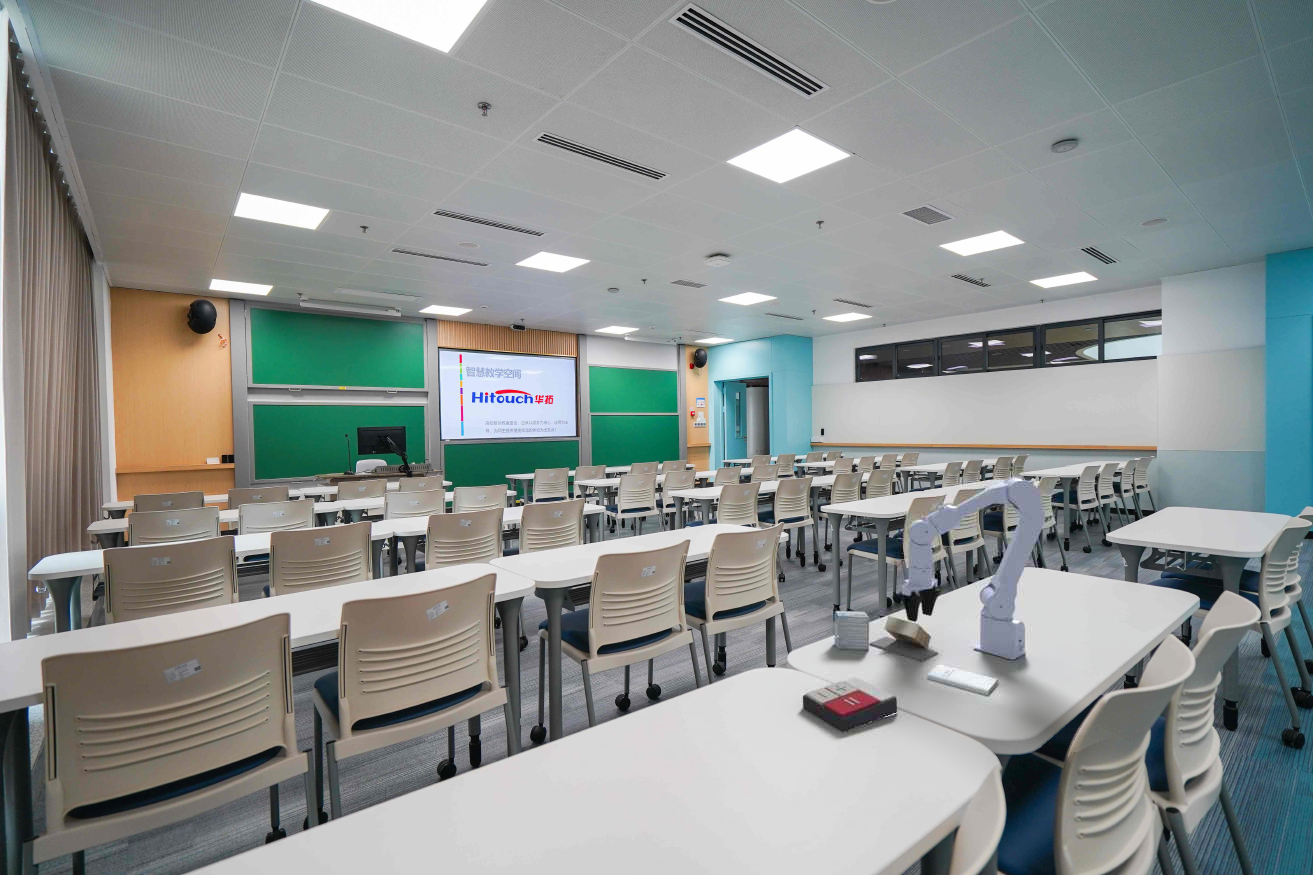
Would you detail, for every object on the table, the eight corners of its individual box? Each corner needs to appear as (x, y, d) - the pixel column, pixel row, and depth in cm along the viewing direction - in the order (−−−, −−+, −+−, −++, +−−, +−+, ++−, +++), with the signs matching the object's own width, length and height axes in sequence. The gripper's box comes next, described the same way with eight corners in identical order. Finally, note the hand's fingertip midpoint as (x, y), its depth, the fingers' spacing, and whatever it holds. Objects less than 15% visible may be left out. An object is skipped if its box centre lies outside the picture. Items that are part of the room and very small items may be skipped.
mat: (937, 653, 149) (937, 652, 149) (921, 661, 144) (921, 659, 144) (886, 637, 160) (886, 636, 160) (869, 644, 155) (869, 642, 155)
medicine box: (865, 644, 155) (865, 611, 155) (869, 650, 151) (869, 616, 151) (834, 643, 156) (834, 610, 156) (837, 649, 152) (837, 615, 152)
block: (931, 636, 153) (918, 624, 149) (926, 649, 152) (913, 637, 147) (901, 628, 159) (888, 615, 155) (897, 640, 158) (884, 628, 154)
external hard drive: (988, 698, 126) (926, 680, 135) (998, 685, 132) (939, 669, 141) (988, 690, 126) (927, 673, 135) (998, 678, 132) (939, 662, 141)
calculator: (801, 691, 120) (855, 673, 127) (802, 712, 121) (855, 692, 128) (842, 715, 111) (897, 693, 118) (842, 737, 111) (898, 714, 118)
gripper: (920, 559, 164) (919, 608, 165) (891, 567, 155) (890, 619, 156) (945, 564, 159) (944, 615, 159) (917, 572, 150) (916, 626, 150)
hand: (919, 617), depth 157 cm, fingers open, 7 cm apart
